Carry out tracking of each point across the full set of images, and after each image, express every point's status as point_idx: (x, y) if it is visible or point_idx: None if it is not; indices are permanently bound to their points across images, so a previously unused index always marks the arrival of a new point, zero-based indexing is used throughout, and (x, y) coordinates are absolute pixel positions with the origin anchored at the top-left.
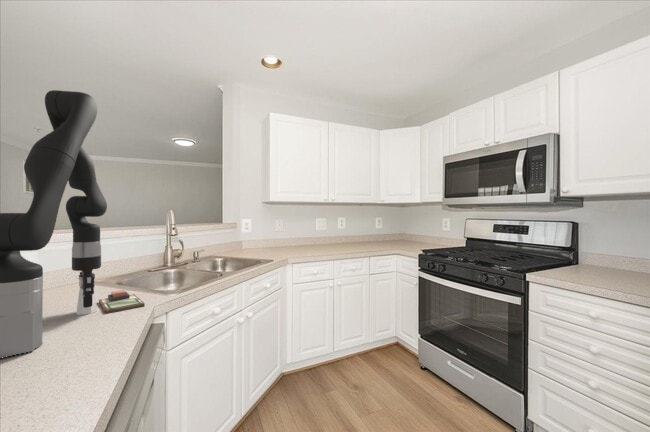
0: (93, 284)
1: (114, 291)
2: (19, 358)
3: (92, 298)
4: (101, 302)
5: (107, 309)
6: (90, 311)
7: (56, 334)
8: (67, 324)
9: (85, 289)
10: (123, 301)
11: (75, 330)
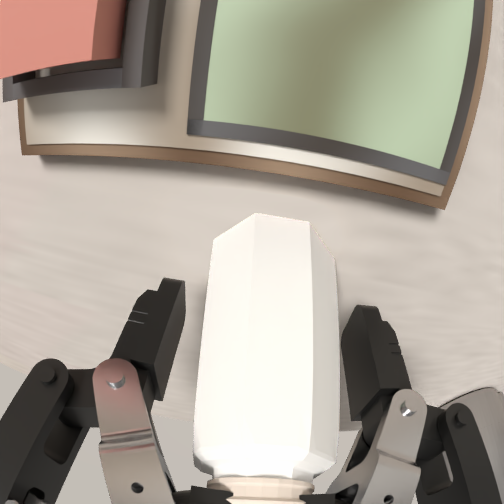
0: (495, 489)
1: (1, 51)
2: None
3: (327, 336)
4: (118, 153)
5: (428, 193)
6: (334, 271)
7: (465, 372)
8: (407, 352)
9: (447, 477)
10: None
11: (494, 339)
